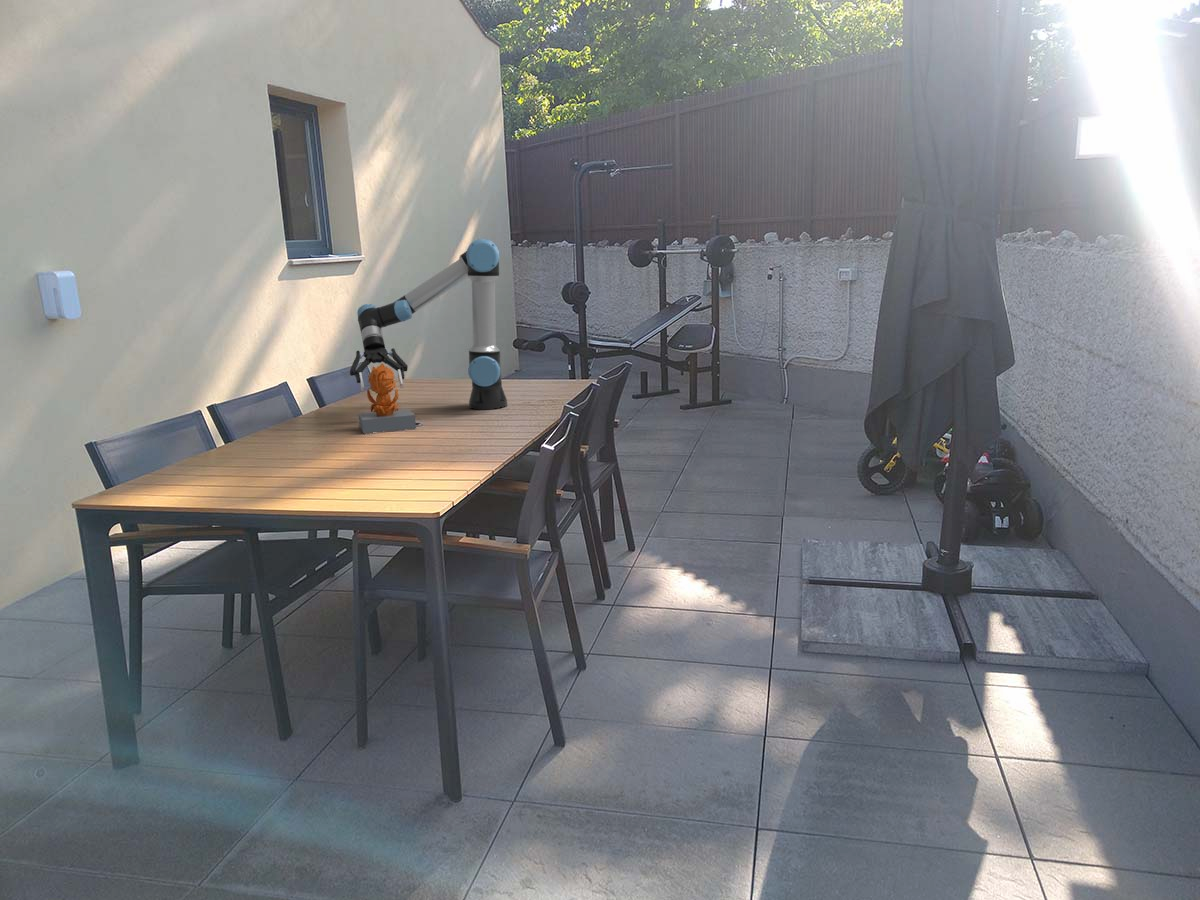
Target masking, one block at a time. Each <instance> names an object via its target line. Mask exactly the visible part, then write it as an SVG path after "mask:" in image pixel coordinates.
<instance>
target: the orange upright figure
mask: <svg viewBox="0 0 1200 900" xmlns="http://www.w3.org/2000/svg"><path fill="white" fill-rule="evenodd" d="M367 378H368V379H367V382H368V384H369V387H370V388H369V389H367V390H366V395H367V399H368V402H370V403H371V405H370V413H371V412H374V413H375V412H376V415H377V416H389V415H393V413H394V410H395V411H398V410H399V407H398V403H396V402H397V401H398V400H399V393H398V391H399V390H398V389H397V388H396V381H395V380H394V379H395V373H394V371H393V369H392V368H389V367H388V366H386V365H385V363H384V362H381V363H380V365H378V366H377V367H376V366H374V365H373V366H372V369H371V372H370V373H369V375H367ZM395 388H396V389H395ZM394 389H395V391H394V392H395V393H394V397H393V399H391V395H390V393H391V392H392V391H393V390H394ZM370 390H371V391H372V392H374V393H375V394H377V395H376V399H374V398H373V396H372V395H371V392H370Z"/></svg>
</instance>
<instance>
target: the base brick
mask: <svg viewBox="0 0 1200 900" xmlns="http://www.w3.org/2000/svg"><path fill="white" fill-rule="evenodd" d="M357 417H358V427H360V428H361V429H360V428H359V429H360V431H361V430H362V431H361V432H362V433H364V434H363V435H366V434H365V433H371V434H374V433H373V432H381V433H384V432H383V431H391V432H396V431H395V430H401V431H406V430H405V429H411V430H416V429H417V427H416V426H417V424H416V415H415V413H414V412H412V410H410V409H409V408H405V409H398V411H395V409H394V413H393V415H389V416H377V415H376V412H375V413H374V412H371V411H370V412H363V413H362V412H361V413H357ZM415 428H416V429H415Z"/></svg>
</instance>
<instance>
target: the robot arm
mask: <svg viewBox="0 0 1200 900" xmlns="http://www.w3.org/2000/svg"><path fill="white" fill-rule="evenodd" d="M499 277H500V251H499V248H498V247H497V245H496V244H495V243H494V241H492V240H490V239H487V238H479V239H478V238H477V239H475V240H473V241H472V242H471V243H470V244H469V246H468V247H467V249H466V250H465V252H462V253H461V254H460V255H459V258H458V260H456V261H455V262H453V263H451V264H450V265H448V266H447V267H446V268H444V269H442V270H440V271H439V272H438V273H436V274H435V275H433V276H432V277H430V278H429V279H427V280H426V281H424V282H422V283H421V284H419V285H418V286H416V287H415V288H413V289H411V291H409V292H407V293H406V294H404V295H403V296H401V297H400V298H399V299H396V300H395V301H393V302H392V303H391V302H390V303H388V304H385V305H382V306H379V307H376V305H374V304H372V303H371V304H368V303H366V304H365V303H364V304H362V305H361V306H360V307H358V310H357V313H356V314H357V322H358V325H359V330H360V331H359V332H360V336H361V340H362V341H361V342H362V347H363V350H364V351H363V352H362V351H360V350H356V352H355V358H354V359H353V362H352V365H351V367H350V370H349V375H350V376H352V377H353V376H354V377H355V378H356V383H357V384H360V389H361V392H364V391H365V385H364V384H365V383H364V379H363V374H362V373H363V372H364V370H365V369H366V368H367V367H368V366H369V365H371V363H372V364H377V363H379V364H382V363H383V364H384V365H385V364H386V365H388V366H389V367H391V369H393V370H395V371H396V372H397V377H398V381H399V383H398V384H399V386H400V387H399V388H400V389H404V382H403V380H405V372H408V364H407V363H406V362H405V361H404V360H403V359H402V357H400V356H399V355H398V353H397V351H396V349H395V348H391V350H389V349H388V350H387V349H386V345H385V340H384V336H383V331H382V329H383V328H386V327H389V326H392V325H395V324H398V323H399V324H400V323H402V322H405V321H408V320H411V319H412V317H413V315H414V314H415V313H416V312H418V311H419V310H421V309H422V308H424V307H425V306H427V305H428V304H430V303H431V302H433V301H435V300H436V299H437V298H439V297H441V296H442V295H444V294H445V293H447V292H448V291H450V290H451V289H453V288H454V287H456V286H457V285H459V284H460V283H462V282H464V281H466V280H467V279H468V278H469V279H470V281H471V299H472V300H471V301H472V303H471V305H472V307H471V309H472V310H471V311H472V312H471V313H472V346H471V347H470V348H469V349H468V369H467V370H468V371H467V372H468V376H469V379H470V380H471V385H472V386H471V387H472V389H471V392H470V395H469V399H468V400H469V401H468V407H470V408H469V409H471V408H474V409H473V410H495V409H494V408H497V409H501V408H500V407H502V408H505V407H504V406H506V405H507V406H508V400H507V396H506V394H505V391H504V389H503V386H502V385H503V384H502V383H503V381H502V367H501V357H502V356H501V350H500V349H499V348H498V346H497V340H496V339H497V337H496V336H497V335H496V334H497V333H496V330H497V329H496V325H497V324H496V321H497V320H496V318H497V317H496V280H497V279H499ZM388 355H389V356H390V357H389V356H388ZM363 357H364V360H363V362H361V364H360V365H359V362H360V360H362V358H363ZM507 406H506V407H507Z"/></svg>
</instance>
